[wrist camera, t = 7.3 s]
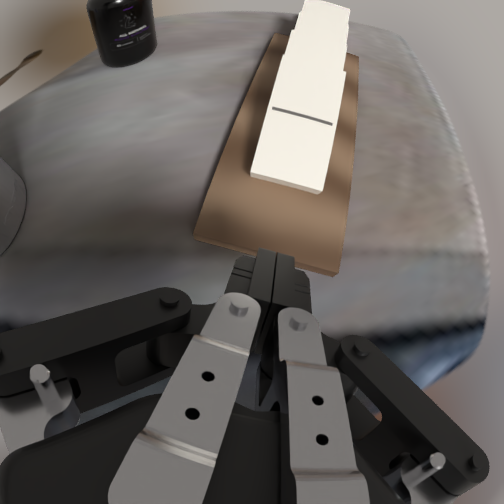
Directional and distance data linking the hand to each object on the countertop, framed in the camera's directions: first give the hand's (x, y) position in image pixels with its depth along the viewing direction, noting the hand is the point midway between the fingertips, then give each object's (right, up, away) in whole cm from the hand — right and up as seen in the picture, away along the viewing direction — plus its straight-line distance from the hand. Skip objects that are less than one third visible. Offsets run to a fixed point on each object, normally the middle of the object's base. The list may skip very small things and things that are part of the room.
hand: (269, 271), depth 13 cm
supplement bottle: (-15, +24, +15) cm, 32 cm away
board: (+3, +12, +12) cm, 18 cm away
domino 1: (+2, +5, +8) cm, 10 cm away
